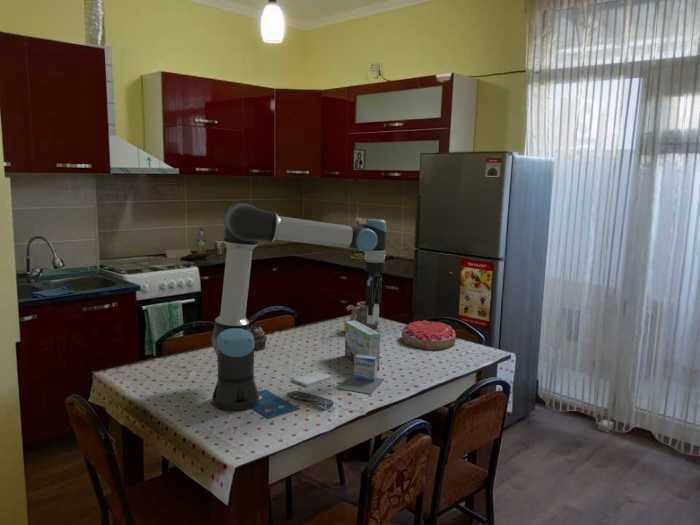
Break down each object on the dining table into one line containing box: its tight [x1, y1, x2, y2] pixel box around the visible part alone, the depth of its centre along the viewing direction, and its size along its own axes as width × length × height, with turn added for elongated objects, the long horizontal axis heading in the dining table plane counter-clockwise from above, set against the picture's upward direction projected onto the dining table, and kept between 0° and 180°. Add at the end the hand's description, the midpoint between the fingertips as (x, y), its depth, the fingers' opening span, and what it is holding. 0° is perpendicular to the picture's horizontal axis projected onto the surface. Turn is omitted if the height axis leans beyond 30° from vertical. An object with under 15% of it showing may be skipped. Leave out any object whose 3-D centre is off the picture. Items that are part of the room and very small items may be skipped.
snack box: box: [344, 320, 381, 371], centre depth 226 cm, size 21×6×15 cm, turn 27°
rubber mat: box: [335, 373, 385, 395], centre depth 203 cm, size 16×13×1 cm
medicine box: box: [353, 354, 378, 382], centre depth 207 cm, size 8×4×9 cm, turn 76°
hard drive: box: [291, 370, 332, 388], centre depth 206 cm, size 2×8×12 cm
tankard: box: [345, 301, 381, 333], centre depth 270 cm, size 20×13×15 cm, turn 130°
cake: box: [401, 319, 457, 351], centre depth 259 cm, size 25×25×8 cm
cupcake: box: [248, 324, 267, 352], centre depth 241 cm, size 10×10×10 cm
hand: (372, 321), depth 211 cm, fingers open, 4 cm apart
